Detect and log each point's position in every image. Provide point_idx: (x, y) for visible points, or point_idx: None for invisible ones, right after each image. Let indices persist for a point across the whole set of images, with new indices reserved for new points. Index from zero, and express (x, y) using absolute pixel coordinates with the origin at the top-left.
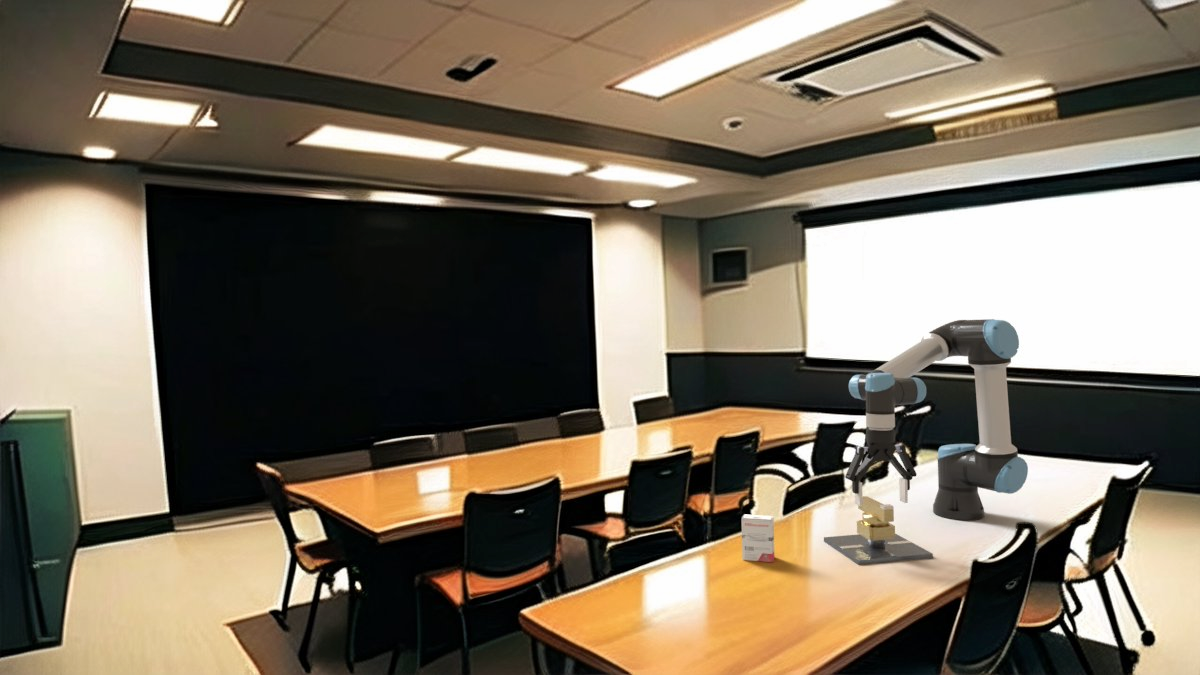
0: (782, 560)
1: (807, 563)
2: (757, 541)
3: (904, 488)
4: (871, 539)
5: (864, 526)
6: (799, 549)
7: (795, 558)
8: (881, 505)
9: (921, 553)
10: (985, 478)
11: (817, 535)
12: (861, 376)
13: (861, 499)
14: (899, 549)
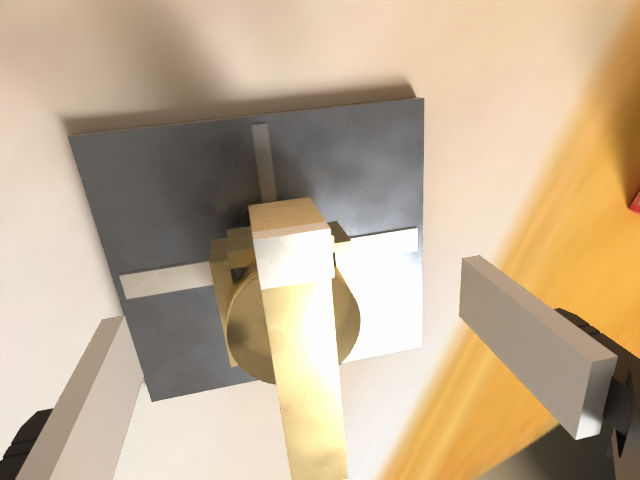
0: (622, 175)
1: (569, 137)
2: None
3: (90, 403)
4: (328, 223)
5: (353, 278)
6: (523, 269)
7: (577, 189)
8: (332, 263)
9: (123, 145)
10: None
11: (407, 389)
12: None
13: (495, 277)
14: (203, 204)
